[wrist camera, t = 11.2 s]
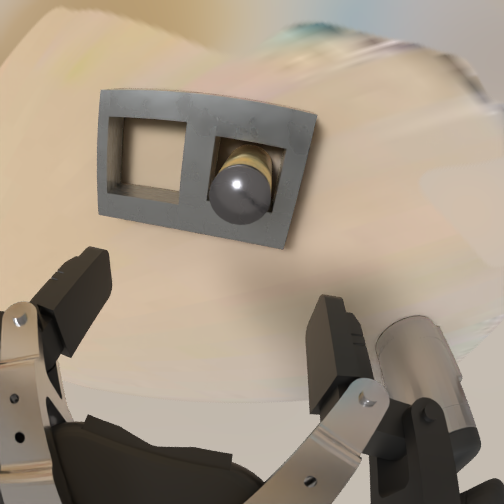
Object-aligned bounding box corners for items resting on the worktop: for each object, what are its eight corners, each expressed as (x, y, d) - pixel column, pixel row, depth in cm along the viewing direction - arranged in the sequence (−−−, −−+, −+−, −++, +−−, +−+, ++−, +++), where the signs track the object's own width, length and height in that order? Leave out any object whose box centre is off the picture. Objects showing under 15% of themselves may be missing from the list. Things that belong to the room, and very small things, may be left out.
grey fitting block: (312, 112, 23) (317, 114, 20) (282, 233, 29) (283, 249, 26) (117, 88, 22) (100, 89, 20) (112, 202, 28) (98, 214, 26)
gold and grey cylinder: (276, 149, 25) (276, 173, 18) (267, 191, 27) (264, 230, 20) (231, 141, 25) (213, 162, 18) (224, 182, 27) (205, 218, 20)
